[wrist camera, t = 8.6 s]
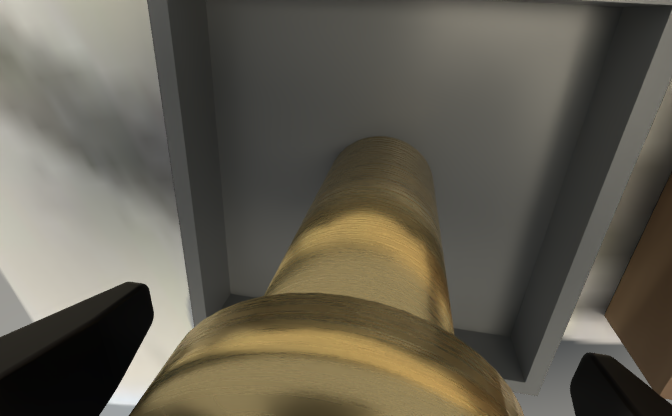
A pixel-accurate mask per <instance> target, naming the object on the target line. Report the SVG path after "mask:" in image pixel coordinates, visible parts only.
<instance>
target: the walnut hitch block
mask: <svg viewBox="0 0 672 416" xmlns="http://www.w3.org/2000/svg"><path fill="white" fill-rule="evenodd" d="M604 316H605V317H606V319H607V320H608V322H609V324H610V325H611V327H612V328H613V330H614V331H615V333H616V334H617V336H618V337H619V339H620V340H621V342H622V343H623V345H624V346H625V348H626V349H627V351H628V352H629V354H630V355H631V357H632V358H633V360H634V361H635V363H636V365H637V366H638V367H639V369H640V371H641V372H642V374H643V375H644V377H645V378H646V380H647V381H648V383H649V384H650V386H651V387H652V389H653V390H654V391H655V392H657V393H658V394H659V395H660V396H661V397H663V398H664V399H671V400H672V173H671V175H670V177H669V179H668V181H667V183H666V186H665V188H664V190H663V192H662V194H661V196H660V198H659V200H658V202H657V205H656V207H655V209H654V211H653V213H652V215H651V217H650V219H649V222H648V224H647V226H646V228H645V230H644V232H643V234H642V236H641V239H640V241H639V243H638V245H637V247H636V249H635V251H634V253H633V255H632V258H631V260H630V262H629V264H628V266H627V268H626V270H625V272H624V275H623V277H622V279H621V281H620V283H619V285H618V287H617V289H616V292H615V294H614V296H613V298H612V300H611V302H610V304H609V306H608V308H607V311H606V313H605V315H604Z"/></svg>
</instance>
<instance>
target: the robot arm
mask: <svg viewBox="0 0 672 416" xmlns="http://www.w3.org/2000/svg"><path fill="white" fill-rule="evenodd" d="M153 317H154V311H153V306H152V301H151V296H150V291H149V288H148V287H147V285H145V284H142V283H135V282H126V283H123V284H121V285H119V286H116V287H114V288H112V289H109V290H107V291H105V292H103V293H100V294H98V295H96V296H93V297H91V298H89V299H86V300H84V301H82V302H80V303H77V304H75V305H73V306H70V307H68V308H66V309H64V310H61V311H59V312H57V313H54V314H52V315H50V316H48V317H45V318H43V319H41V320H38V321H36V322H34V323H31V324H30V325H27V326H25V327H22V328H20V329H18V330H15V331H13V332H11V333H9V334H7V335H4V336H2V337H0V416H99V415H100V413H101V412H102V410H103V409H104V407H105V406H106V404H107V403H108V401H109V400H110V398H111V397H112V395H113V394H114V392H115V390H116V389H117V387H118V385H119V384H120V382H121V380H122V378H123V377H124V375H125V373H126V371H127V369H128V367H129V365H130V364H131V362H132V360H133V358H134V356H135V354H136V352H137V351H138V349H139V347H140V345H141V343H142V341H143V339H144V337H145V336H146V334H147V332H148V330H149V328H150V326H151V324H152V321H153ZM570 393H571V397H572V402H573V406H574V411H575V415H576V416H672V405H671V404H670V403H669V402H668V401H666V400H665V399H664V398H663V397H661V396H660V395H659V394H658V393H657V392H655V391H654V390H653V389H652V388H650V387H649V386H648V385H647V384H645V383H644V382H643V381H642V380H640V379H639V378H638V377H637V376H635V375H634V374H633V373H632V372H630V371H629V370H628V369H627V368H625V367H624V366H623V365H622V364H621V363H619V362H618V361H617V360H616V359H614V358H612V357H611V356H608V355H603V354H596V353H586V354H585V355H584V356H583V358H582V359H581V361H580V363H579V366H578V368H577V370H576V372H575V374H574V377H573V378H572V381H571V385H570Z"/></svg>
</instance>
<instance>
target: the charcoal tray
mask: <svg viewBox="0 0 672 416" xmlns="http://www.w3.org/2000/svg"><path fill="white" fill-rule="evenodd" d="M147 3H148V10H149V17H150V23H151V30H152V37H153V44H154V51H155V58H156V65H157V72H158V79H159V86H160V93H161V100H162V107H163V113H164V120H165V127H166V134H167V141H168V148H169V155H170V162H171V169H172V176H173V183H174V190H175V197H176V203H177V210H178V217H179V224H180V231H181V238H182V245H183V252H184V259H185V266H186V273H187V280H188V287H189V293H190V300H191V307H192V314H193V321H194V327H195V326H197V325H198V324H199V323H200V322H201V321H203V320H204V319H206V318H207V317H209V316H211V315H213V314H214V313H216V312H218V311H219V310H221V309H224V308H226V307H229V306H231V305H234V304H236V303H239V302H242V301H246V300H250V299H254V298H258V297H262V296H264V294H265V293H266V291H267V289H268V287H269V285H270V283H271V281H272V279H273V277H274V275H275V273H276V271H277V270H278V268H279V266H280V264H281V262H282V260H283V258H284V256H285V254H286V252H287V250H288V249H289V247H290V245H291V243H292V241H293V239H294V237H295V235H296V233H297V231H298V229H299V227H300V226H301V224H302V222H303V220H304V218H305V216H306V214H307V212H308V210H309V208H310V206H311V205H312V203H313V201H314V199H315V197H316V195H317V193H318V191H319V189H320V187H321V185H322V183H323V182H324V180H325V178H326V176H327V174H328V172H329V170H330V168H331V166H332V164H333V163H334V161H335V159H336V158H337V156H338V155H339V154H340V153H341V152H342V151H343V150H344V149H345V148H346V147H347V146H349V145H350V144H352V143H354V142H356V141H358V140H361V139H363V138H367V137H373V136H387V137H393V138H396V139H399V140H402V141H404V142H406V143H408V144H409V145H411V146H413V147H414V148H415V149H416V150H418V151H419V152H420V154H421V155H422V156H423V157H424V158H425V160H426V161H427V163H428V165H429V167H430V169H431V172H432V176H433V182H434V190H435V197H436V204H437V212H438V219H439V226H440V234H441V241H442V248H443V255H444V263H445V270H446V277H447V285H448V292H449V299H450V307H451V314H452V321H453V329H454V336H456V337H458V338H459V339H460V340H462V341H463V342H464V343H466V344H467V345H468V346H470V347H471V348H472V349H474V350H475V351H476V352H478V353H479V354H480V355H481V356H482V357H483V358H484V359H485V360H486V361H487V362H488V363H489V364H490V365H491V366H493V367H494V368H495V369H496V370H497V371H498V373H499V374H500V375H501V377H502V378H503V379H504V380H505V382H506V383H507V384H508V386H509V387H510V388H511V390H512V391H513V392H516V393H522V394H528V395H534V396H538V393H539V391H540V389H541V386H542V384H543V381H544V379H545V377H546V374H547V372H548V370H549V367H550V365H551V363H552V360H553V358H554V355H555V353H556V351H557V348H558V346H559V344H560V341H561V339H562V337H563V334H564V332H565V329H566V327H567V325H568V322H569V320H570V318H571V315H572V313H573V310H574V308H575V306H576V303H577V301H578V299H579V296H580V294H581V292H582V289H583V287H584V284H585V282H586V280H587V277H588V275H589V273H590V270H591V268H592V266H593V263H594V261H595V258H596V256H597V254H598V251H599V249H600V247H601V244H602V242H603V240H604V237H605V235H606V232H607V230H608V228H609V225H610V223H611V221H612V218H613V216H614V213H615V211H616V209H617V206H618V204H619V202H620V199H621V197H622V195H623V192H624V190H625V187H626V185H627V183H628V180H629V178H630V176H631V173H632V171H633V169H634V166H635V164H636V161H637V159H638V157H639V154H640V152H641V150H642V147H643V145H644V142H645V140H646V138H647V135H648V133H649V131H650V128H651V126H652V124H653V121H654V119H655V116H656V114H657V112H658V109H659V107H660V105H661V102H662V100H663V98H664V95H665V93H666V90H667V88H668V86H669V83H670V81H671V79H672V0H147Z"/></svg>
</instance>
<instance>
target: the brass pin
mask: <svg viewBox="0 0 672 416" xmlns="http://www.w3.org/2000/svg"><path fill="white" fill-rule="evenodd" d="M129 416H524V414H523V411H522V408H521V406H520V404H519V402H518V401H517V399H516V397H515V395H514V393H513V391H512V390H511V388H510V387H509V386H508V384H507V383H506V382H505V380H504V379H503V378H502V377H501V375H500V374H499V373H498V371H497V370H496V369H495V368H494V367H493V366H491V365H490V364H489V363H488V362H487V361H486V360H485V359H484V358H483V357H482V356H481V355H480V354H479V353H478V352H476V351H475V350H474V349H472V348H471V347H470V346H468V345H467V344H466V343H464V342H463V341H462V340H460V339H459V338H458V337H456V336H454V329H453V321H452V314H451V307H450V299H449V292H448V285H447V277H446V270H445V263H444V255H443V248H442V241H441V234H440V226H439V219H438V212H437V204H436V197H435V190H434V182H433V176H432V172H431V169H430V167H429V165H428V163H427V161H426V160H425V158H424V157H423V156H422V155H421V154H420V152H419V151H418V150H416V149H415V148H414V147H413V146H411V145H409V144H408V143H406V142H404V141H402V140H399V139H396V138H393V137H387V136H373V137H367V138H363V139H361V140H358V141H356V142H354V143H352V144H350V145H349V146H347V147H346V148H345V149H344V150H343V151H342V152H341V153H340V154H339V155H338V156H337V158H336V159H335V161H334V163H333V164H332V166H331V168H330V170H329V172H328V174H327V176H326V178H325V180H324V182H323V183H322V185H321V187H320V189H319V191H318V193H317V195H316V197H315V199H314V201H313V203H312V205H311V206H310V208H309V210H308V212H307V214H306V216H305V218H304V220H303V222H302V224H301V226H300V227H299V229H298V231H297V233H296V235H295V237H294V239H293V241H292V243H291V245H290V247H289V249H288V250H287V252H286V254H285V256H284V258H283V260H282V262H281V264H280V266H279V268H278V270H277V271H276V273H275V275H274V277H273V279H272V281H271V283H270V285H269V287H268V289H267V291H266V293H265V294H264V296H262V297H258V298H254V299H250V300H246V301H242V302H239V303H236V304H234V305H231V306H229V307H226V308H224V309H221V310H219V311H218V312H216V313H214V314H213V315H211V316H209V317H207V318H206V319H204V320H203V321H201V322H200V323H199V324H198V325H197V326H195V327H194V328H193V329H192V330H191V331H190V332H189V333H188V334H187V335H186V336H185V338H184V339H183V340H182V341H181V343H180V344H179V345H178V346H177V348H176V349H175V351H174V352H173V354H172V355H171V356H170V358H169V359H168V361H167V362H166V363H165V365H164V366H163V368H162V369H161V371H160V372H159V373H158V375H157V376H156V378H155V379H154V381H153V382H152V383H151V385H150V386H149V388H148V389H147V390H146V392H145V393H144V395H143V396H142V398H141V399H140V400H139V402H138V403H137V405H136V406H135V408H134V409H133V410H132V412H131V413H130V415H129Z"/></svg>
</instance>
